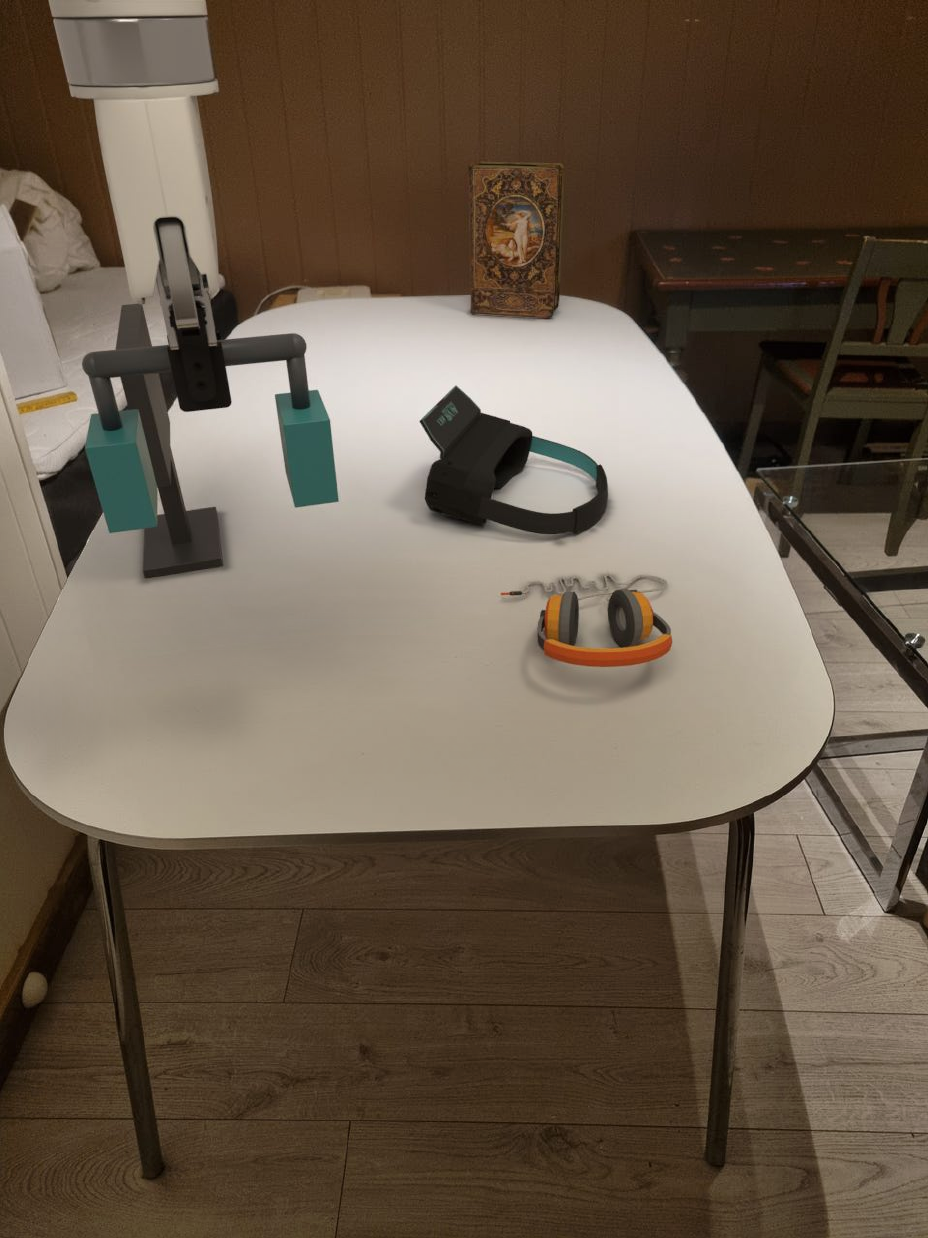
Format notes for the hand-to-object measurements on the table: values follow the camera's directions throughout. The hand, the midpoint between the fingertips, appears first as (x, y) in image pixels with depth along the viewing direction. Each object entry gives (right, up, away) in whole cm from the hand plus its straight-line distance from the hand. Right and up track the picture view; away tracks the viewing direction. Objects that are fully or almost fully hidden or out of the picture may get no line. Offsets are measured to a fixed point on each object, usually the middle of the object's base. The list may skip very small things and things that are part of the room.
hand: (205, 399), depth 55 cm
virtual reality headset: (+23, 0, +47) cm, 52 cm away
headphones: (+29, -16, +25) cm, 42 cm away
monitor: (-15, -6, +40) cm, 43 cm away
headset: (0, -6, +4) cm, 7 cm away
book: (+26, +44, +107) cm, 119 cm away
